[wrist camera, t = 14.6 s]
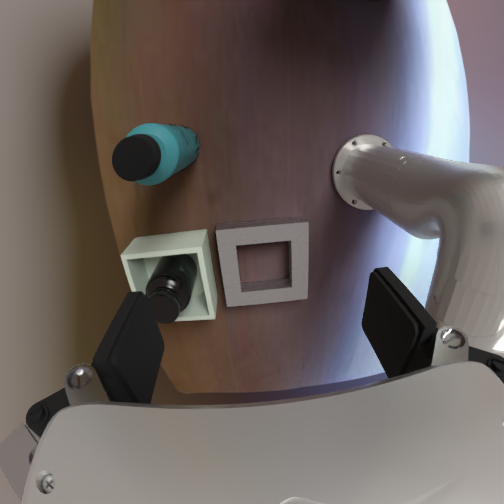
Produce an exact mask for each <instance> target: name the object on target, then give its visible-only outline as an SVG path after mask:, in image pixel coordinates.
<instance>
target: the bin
mask: <svg viewBox="0 0 504 504" xmlns="http://www.w3.org/2000/svg"><path fill="white" fill-rule="evenodd" d="M178 254H188V255H189V256H191V257H192V259H193V260H194V261H195V263H196V266H197V276H196V280H195V284H194V288H193V292H192V296H191V300H190V303H189V305H188V306H187V308H186V309H185V310H183V311H182V312H180V313H179V316H178V318H177V319H176V320H175V321H191V320H208V319H215V318H216V307H217V298H218V293H217V287H216V282H215V276H214V270H213V264H212V258H211V251H210V245H209V239H208V232H207V229H204V230H194V231H185V232H177V233H168V234H159V235H151V236H143V237H136V238H135V239H134V240H133V241H132V242H131V243H130V245H129V246H128V247H127V248H126V249H125V250H124V252H123V253H122V254H121V259H122V262H123V265H124V269H125V272H126V275H127V278H128V281H129V284H130V287H131V290H132V292H135V291H142V292H143V293H144V294H146V293H145V290H146V285H147V283H148V281H149V279H150V277H151V275H152V273H153V271H154V269H155V268H156V266H157V264H158V262H159V260H160V259H161V257H162V256H168V255H178ZM156 322H157V321H156Z"/></svg>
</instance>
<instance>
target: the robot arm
mask: <svg viewBox="0 0 504 504" xmlns="http://www.w3.org/2000/svg"><path fill="white" fill-rule="evenodd" d="M352 142H353V144H352ZM382 143H383V145H382ZM337 171H338V174H336V172H337ZM332 176H333V182H334V185H335V188H336V190H337V192H338V193H339V195H340V196H341V197H342V199H343V200H344V201H346V202H347V203H348V204H350V205H351V206H353V207H355V208H358V209H362V210H372V209H374V210H376V211H377V212H379V213H380V214H382V215H383V216H385V217H386V218H388V219H389V220H391V221H392V222H393V223H395V224H396V225H398V226H399V227H401V228H402V229H403V230H405V231H406V232H408V233H409V234H411V235H413V236H415V237H417V238H420V239H436V238H440V240H439V247H438V252H437V260H436V265H435V269H434V273H433V277H432V281H431V285H430V289H429V293H428V296H427V300H426V304H425V308H424V307H423V306H422V305H421V303H420V302H419V301H418V300H417V299H416V298H415V297H414V295H413V294H412V293H411V292H410V291H409V290H408V289H407V287H406V286H405V285H404V284H403V283H402V282H401V281H400V280H399V279H398V278H397V276H396V275H395V274H394V273H393V272H392V271H391V270H390V269H389V268H388V267H382V268H375V269H374V271H373V272H371V273H370V277H369V284H368V290H367V296H366V302H365V308H364V313H363V318H362V328H363V330H364V332H365V334H366V336H367V338H368V340H369V342H370V343H371V345H372V347H373V349H374V351H375V353H376V355H377V357H378V359H379V361H380V363H381V365H382V367H383V368H384V370H385V372H386V374H387V376H388V378H389V379H385V380H381V381H378V382H374V383H370V384H366V385H362V386H358V387H354V388H349V389H344V390H339V391H334V392H329V393H324V394H318V395H312V396H306V397H300V398H293V399H285V400H277V401H267V402H256V403H244V404H226V405H162V404H150V403H151V399H152V395H153V391H154V386H155V382H156V378H157V375H158V371H159V367H160V363H161V359H162V356H163V352H164V341H163V338H162V336H161V333H160V330H159V328H158V325H157V322H156V319H155V316H154V313H153V311H152V308H151V305H150V302H149V299H148V296H147V295H146V294H144V293H143V292H142V291H135V292H128V294H127V295H126V297H125V299H124V301H123V302H122V304H121V306H120V308H119V310H118V311H117V313H116V315H115V317H114V319H113V321H112V322H111V324H110V326H109V328H108V330H107V332H106V334H105V335H104V337H103V339H102V341H101V343H100V345H99V347H98V349H97V351H96V353H95V355H94V357H93V362H92V364H91V365H89V364H79V365H76V366H74V367H73V368H71V369H70V370H69V371H68V372H67V374H66V375H65V378H64V387H65V388H63V389H61V390H60V391H58V392H56V393H54V394H52V395H50V396H49V397H47V398H45V399H43V400H41V401H39V402H37V403H36V404H34V405H33V406H32V407H31V408H30V409H29V410H28V412H27V415H26V424H24V423H23V422H22V423H21V424H20V425H19V426H18V427H17V428H16V429H15V430H14V431H13V432H12V433H11V434H10V435H9V436H8V437H7V438H6V439H5V440H4V441H2V442H1V444H0V467H1V469H2V471H3V472H4V474H5V476H6V478H7V479H8V481H9V483H10V484H11V486H12V488H13V489H14V491H15V492H16V494H17V495H18V497H19V498H20V500H21V501H22V502H21V504H504V167H501V166H496V165H488V164H476V163H466V162H458V161H452V160H447V159H442V158H438V157H433V156H429V155H424V154H420V153H415V152H411V151H406V150H401V149H396V148H393V147H392V146H391V145H390V144H389V143H388V142H387V141H386V140H384V139H383V138H381V137H378V136H376V135H370V134H362V135H357V136H354V137H352V138H350V139H349V140H347V141H346V142H345V143H344V144H343V145H342V146H341V147H340V148H339V150H338V152H337V153H336V156H335V158H334V162H333V167H332ZM352 200H353V202H352Z"/></svg>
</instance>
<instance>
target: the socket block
mask: <svg viewBox="0 0 504 504" xmlns="http://www.w3.org/2000/svg"><path fill="white" fill-rule="evenodd" d="M216 238H217V245H218V251H219V258H220V265H221V271H222V278H223V284H224V291H225V297H226V303H227V307H232V306H244V305H254V304H265V303H274V302H284V301H292V300H301V299H308V260H309V222H308V221H307V219H306V218H305V217H304V216H299V217H286V218H274V219H263V220H252V221H241V222H231V223H221V224H217V226H216ZM280 241H288V250H289V278H286V279H277V280H267V281H257V282H246V283H241V278H240V269H239V261H238V252H237V245H248V244H258V243H269V242H280Z"/></svg>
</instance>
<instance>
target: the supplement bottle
mask: <svg viewBox="0 0 504 504" xmlns="http://www.w3.org/2000/svg"><path fill="white" fill-rule="evenodd" d="M196 276H197V266H196V263H195V261H194V260H193V259H192V257H191V256H189V255H188V254H178V255H168V256H162V257H161V259H160V260H159V262H158V264H157V266H156V268H155V269H154V271H153V273H152V275H151V277H150V279H149V281H148V283H147V285H146V290H145V293H146V295H147V296H148V299H149V302H150V305H151V308H152V311H153V313H154V316H155V319H156V321H157V322H159V323H163V324H165V323H166V324H168V323H172V322H173V321H175V320H176V319H177V318H178V316H179V313H180V312H182V311H183V310H185V309H186V308H187V306H188V305H189V303H190V300H191V296H192V292H193V288H194V284H195V280H196Z"/></svg>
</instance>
